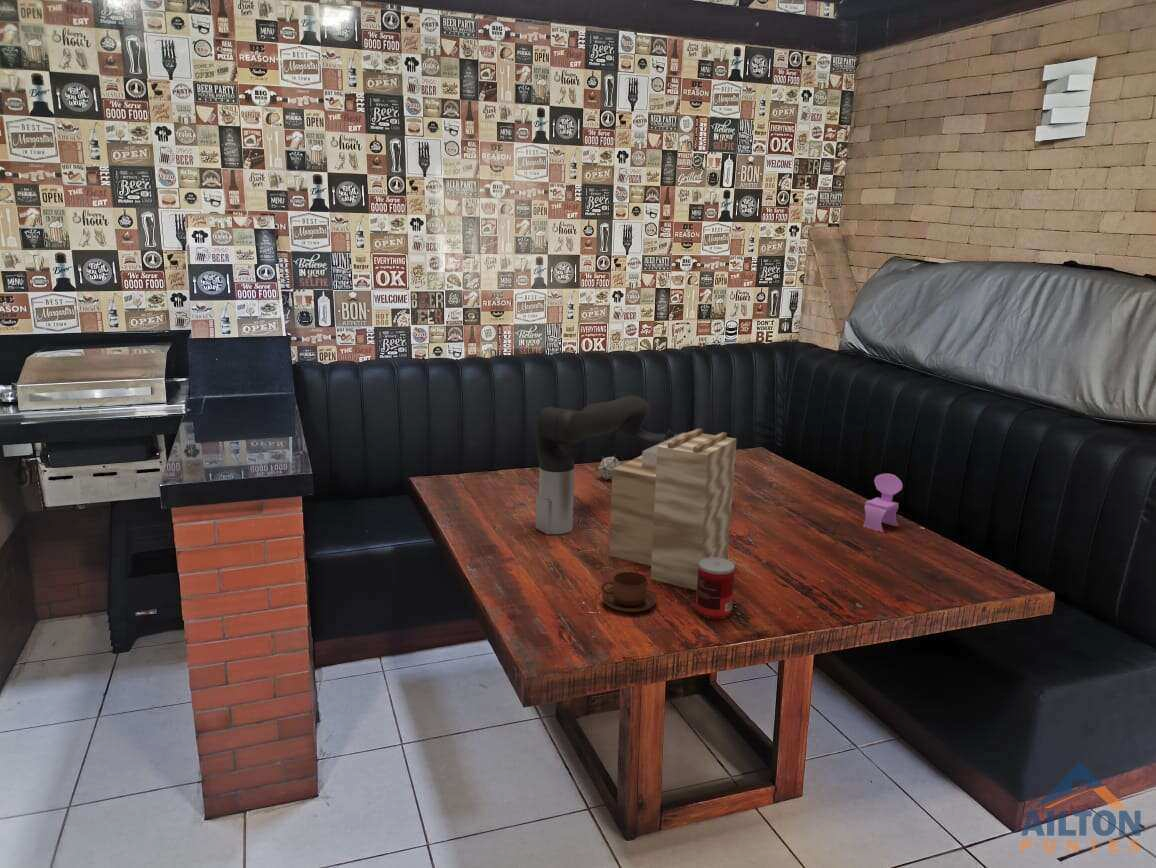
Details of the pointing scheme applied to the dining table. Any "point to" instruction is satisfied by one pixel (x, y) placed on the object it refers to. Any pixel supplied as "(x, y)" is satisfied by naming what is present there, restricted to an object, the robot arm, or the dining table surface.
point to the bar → (653, 454)
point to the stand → (675, 507)
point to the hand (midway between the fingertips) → (682, 435)
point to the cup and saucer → (629, 593)
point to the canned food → (715, 587)
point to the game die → (608, 466)
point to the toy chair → (883, 503)
